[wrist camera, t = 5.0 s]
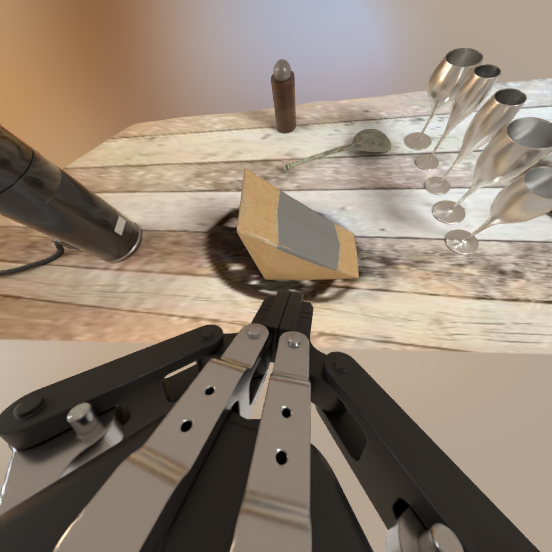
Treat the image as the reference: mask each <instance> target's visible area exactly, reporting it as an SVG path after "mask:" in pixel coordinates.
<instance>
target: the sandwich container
mask: <svg viewBox="0 0 552 552" xmlns="http://www.w3.org/2000/svg"><path fill="white" fill-rule="evenodd" d="M237 233H238V235H239V237H240V238H241V240H242V242H243V243H244V245H245V247H246V248H247V250H248V252H249V253H250V255H251V257H252V258H253V260H254V262H255V263H256V265H257V267H258V268H259V270H260V272H261V273H262V275H263V277H264V278H265V279H267V280H317V279H346V278H359V274H358V260H357V251H356V246H355V240H354V234H353V233H351V232H349V231H348V230H346V229H344V228H342V227H340V226H339V225H337V224H335V223H333V222H332V221H330V220H328V219H327V218H325V217H323V216H321V215H320V214H318V213H316V212H315V211H313V210H312V209H310V208H308V207H307V206H305V205H303V204H302V203H300V202H298V201H297V200H295V199H293V198H292V197H290V196H288V195H287V194H285V193H284V192H282V191H280V190H279V189H277V188H276V187H274V186H272V185H271V184H269V183H268V182H266V181H265V180H263V179H262V178H260V177H258V176H257V175H255V174H254V173H252V172H251V171H249V170H248V169H246V168H245V169H244V177H243V186H242V194H241V202H240V209H239V216H238V223H237Z"/></svg>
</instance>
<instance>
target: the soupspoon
mask: <svg viewBox="0 0 552 552" xmlns="http://www.w3.org/2000/svg"><path fill="white" fill-rule="evenodd" d="M352 148H354V149H357V150H361V151H368V152H387V151H388V150H390V148H391V143H390V141H389V139H388V137H387V136H386V135H385V134H384V133H382V132H381V131H378V130H375V129H366V130H363V131H361V132H359V133H358V134H357V135H356V136H355V137H354V139H353V142H352V144H349V145H345V146H342V147H338V148H335V149H332V150H329V151H326V152H323V153H320V154H317V155H314V156H311V157H308V158H305V159H303V160H300V161H296V162H292V163H290V164H287V165H285V164H283V166H284V170H285V172H286V173H287V169H288V170H289V169H290V168H292V167H294V166H295V165H299V164H301V163H304V162H307V161H310V160H314V159H317V158H320V157H323V156H326V155H329V154H332V153H336V152H339V151H343V150H348V149H352Z"/></svg>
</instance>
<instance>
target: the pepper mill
mask: <svg viewBox="0 0 552 552" xmlns="http://www.w3.org/2000/svg"><path fill="white" fill-rule="evenodd" d="M271 83H272V91H273V100H274V108H275V116H276V124H277V130H278V131H279V132H281V133H289V132H291V131H293V130H294V129H295V127H296V112H295V86H294V85H295V84H294V73H293V72H292V71H291V68H290V65H289V63H288V62H287V61H286V60H283V59H281V60H279V61H278V62H277V63H276V64H275V66H274V74H273V75H272V77H271Z"/></svg>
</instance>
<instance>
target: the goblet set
mask: <svg viewBox="0 0 552 552" xmlns="http://www.w3.org/2000/svg"><path fill="white" fill-rule="evenodd" d="M482 59H483V55H482V54H481V53H480V52H479V51H477V50H474V49H470V48H459V49H455V50H452V51H450V52H449V53H448V54H446V56H445V57H444V58H443V60H442V61H441V63H440V64H439V65H438V66H437V68H436V69H435V71H434V72H433V74H432V76H431V78H430V80H429V84H428V90H427V91H428V97H429V99H430V102H431V105H432V109H431V113H430V116H429V118H428V121H427V123H426V125H425V127H424V128H423V130H422V132H421V133H412V134H409V135H408V136H407V137H406V138H405V144H406V145H407V146H408V147H409V148H411V149H415V150H422V149H425V148H427V147H428V146H429V145H430V144H431V139H430V137H429V136H428V135H426V134H424V131H425V129H426V127H427V125H428V124H429V122H430V121H431V119H432V118H433V116H434V115H435V114H436V112H437V111H438V110H439V109H441V108H442V107H444V106H445V105H447V104H449V103H451V102H453V103H452V106H451V110H450V114H449V119H448V123H447V127H446V129H445V132H444V134H443V135H442V137H441V139H440V141H439V142H438V144H437V146H436V147H435V149H434V150H433V152H432V153H431V155H428V154H424V155H420V156H419V157H417V159H416V161H415V163H416V165H417V166H418V167H419V168H421V169H423V170H432V169H435V168H436V167H437V166H438V164H439V161H438V159H437V158H436V157H434V156H432V155H433V154H434V152H435V151H436V150H437V148H438V147H439V145H440V144H441V143H442V141H443V140H444V138H445V137H446V136H447V135H448V133H449V132H450V131H451V130H452V129H453V128H454V127H455V126H456V125H458V124H459V123H460V122H461V121H463V120H464V119H465V118H466V117H468V116H469V115H470V114H471V113H472V112H473V111H474V110H476V109H477V108H478V106H479V105H480V104H481V103H482V102H483V101H484V99H485V98H486V97H487V95H488V94H489V93H490V91H491V90H492V88H493V86H494V85H495V83H496V81H497V79H498V78H499V76H500V74H501V69H500V68H499V67H497V66H495V65H491V64H483V65H481V63H482ZM526 99H527V96H526V95H525V93H523V92H522V91H520V90H517V89H511V88H506V89H501V90H499V91H497V92H496V93H495V94H494V95H493V96H492V97H491V98H490V99H489V100H488V101H487V102H486V103H485V104H484V105H483V107H482V108H481V109H480V110H479V111H478V113H477V114H476V115H475V117H474V118H473V120H472V121H471V123H470V125H469V126H468V128H467V131H466V133H465V136H464V139H463V144H462V147H461V151H460V153H459V155H458V157H457V159H456V160H455V162H454V163H453V165H452V166H451V167H450V169H449V170H448V171H447V173H446V174H445V175H444V176H443V178H440V177H432V178H429V179H428V180H427V181H426V182H425V188H426V189H427V191H429V192H430V193H432V194H437V195H441V194H445V193H446V192H448V191H449V189H450V185H449V183H448V181H446V180H445V179H444V178H445V177H446V176H447V175H448V174H449V172H450V171H451V170H452V169H453V168H454V167H455V166H456V165H457V164H458V163H459V162H460V161H461V160H462V159H463V158H464V157H465V156H467V155H468V154H469V153H471V152H473V151H474V150H476V149H478V148H479V147H481V146H483V145H484V144H486V143H487V142H489V141H490V140H491V141H490V142H489V143H488V145H487V146H486V147H485V148H484V150H483V151H482V153H481V154H480V156H479V158H478V160H477V162H476V165H475V170H474V182H473V185H472V187H471V188H470V189H469V190H468V192H467V193H466V194H465V195H464V196H463V197H462V198H461V199H460V200H459V201H458V202H457V203H456V202H453V201H441V202H438V203H437V204H436V205H435V206H434V208H433V214H434V216H435V217H436V218H437V219H438V220H439V221H441V222H443V223H447V224H456V223H459V222H461V221H462V220H463V219H464V217H465V211H464V209H463V208H462V207H461V206H460V205H459V204H460V203H461V202H462V201H463V200H464V199H466V198H467V197H468V196H469V195H470V194H472V193H473V192H474V191H476V190H477V189H479V188H481V187H484V186H488V185H492V184H497V183H501V182H504V181H507V180H510V179H512V178H514V177H516V176H518V175H520V174H522V173H524V172H525V171H527V170H528V169H530V168H531V167H533V166H534V165H536V164H537V163H538V162H539V161H541V160H542V159H543V158H544V157H545V156H546V155H547V154H548V153H549V152H550V151H551V150H552V123H551V122H549V121H547V120H544V119H540V118H532V117H527V118H520V119H517V120H514V121H512V119H513V118H514V117H515V116H516V114H517V113H518V112H519V110H520V109H521V107H522V106H523V104H524V103H525V101H526ZM511 121H512V122H511ZM510 122H511V123H510ZM509 123H510V124H509ZM551 210H552V167H536V168H533V169H531V170H529V171H527V172H525V173H524V174H522V175H521V176H519V177H517V178H516V179H514V180H513V181H512V182H510V183H509V184H508V185H506V186H505V187H504V188H503V189H502V190H501V191H500V192H499V193H498V195H497V196H496V197H495V199H494V200H493V202H492V205H491V208H490V215H489V218H488V219H487V221H486V222H485V223H484V224H483V225H482V226H481V227H479V228H478V229H477V230H476V231H474V232H473V233H472V234H471V233H470V232H468V231H465V230H453V231H451V232H449V233H448V234H447V236H446V244H447V246H448V247H449V248H450V249H451V250H452V251H454V252H456V253H458V254H463V255H467V254H471V253H473V252H475V251H476V250H477V248H478V241H477V239H476V237H475V236H474V235H475V234H477V233H479V232H480V231H482V230H484V229H486V228H488V227H490V226H493V225H496V224H505V223H518V222H524V221H528V220H531V219H534V218H537V217H539V216H541V215H544V214H546V213H548V212H550V211H551Z"/></svg>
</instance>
